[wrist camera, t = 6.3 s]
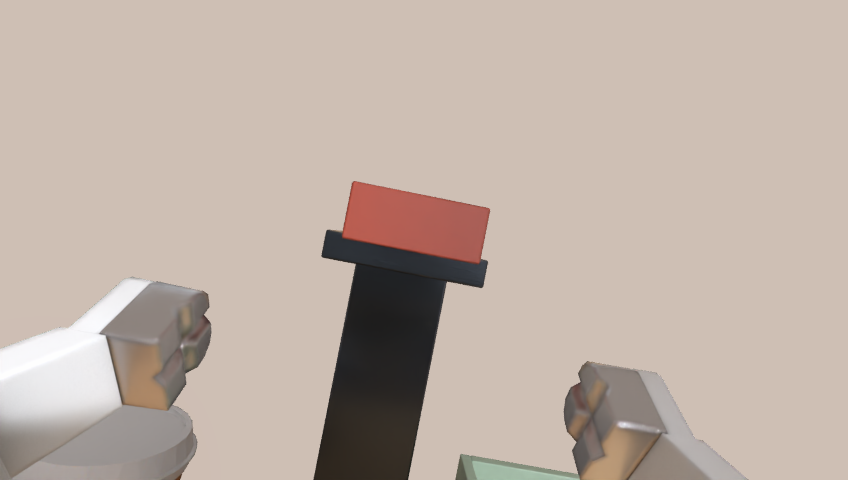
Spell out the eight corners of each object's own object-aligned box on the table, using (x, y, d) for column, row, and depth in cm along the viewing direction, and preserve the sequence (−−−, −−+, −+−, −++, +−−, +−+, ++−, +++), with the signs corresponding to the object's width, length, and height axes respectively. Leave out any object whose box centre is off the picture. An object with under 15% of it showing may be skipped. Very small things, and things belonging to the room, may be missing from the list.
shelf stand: (405, 606, 32) (474, 254, 32) (405, 864, 19) (522, 267, 19) (267, 585, 31) (337, 228, 31) (170, 833, 18) (290, 222, 18)
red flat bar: (431, 247, 30) (435, 226, 30) (480, 265, 11) (490, 208, 11) (381, 237, 29) (385, 216, 29) (341, 238, 10) (352, 180, 10)
